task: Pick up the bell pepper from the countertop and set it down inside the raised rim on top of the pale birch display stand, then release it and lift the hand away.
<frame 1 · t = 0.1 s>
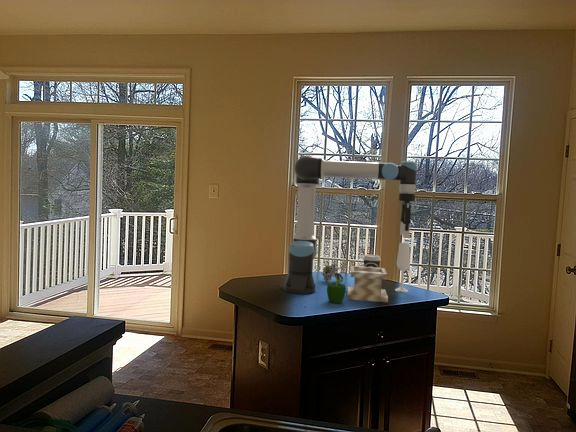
hand: (404, 236, 226), 28 cm above the countertop, tool pointing down, fingers open, 13 cm apart
bell pepper: (335, 302, 202), on the countertop
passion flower: (332, 282, 246), on the countertop
display stand: (366, 296, 216), on the countertop
champagne flute: (401, 290, 232), on the countertop
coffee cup: (370, 283, 246), on the countertop
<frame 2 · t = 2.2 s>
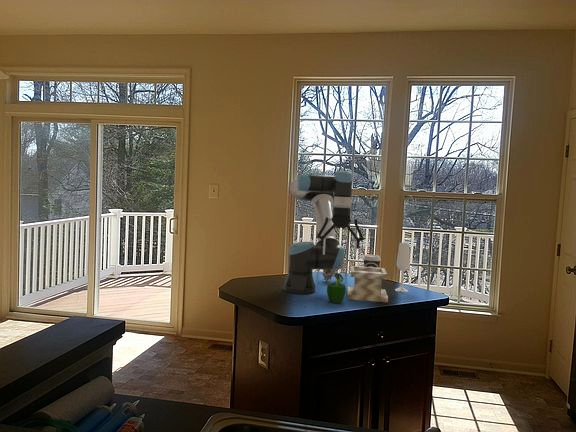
hand: (339, 255, 201), 21 cm above the countertop, tool pointing down, fingers open, 13 cm apart
nothing on the countertop moved.
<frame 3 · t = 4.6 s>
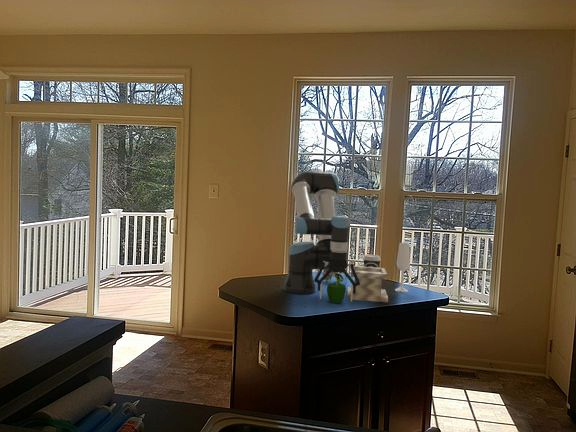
hand: (336, 299, 202), 1 cm above the countertop, tool pointing down, fingers open, 13 cm apart
nothing on the countertop moved.
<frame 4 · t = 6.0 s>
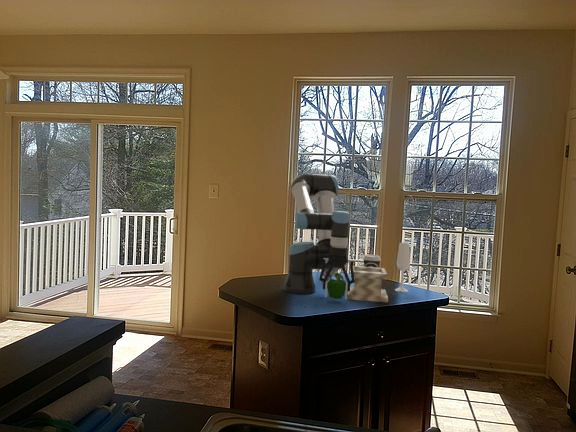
hand: (335, 297, 202), 2 cm above the countertop, tool pointing down, fingers closed on bell pepper, 8 cm apart
bell pepper: (336, 298, 203), point 1 cm above the countertop, touching gripper
everything else where it was.
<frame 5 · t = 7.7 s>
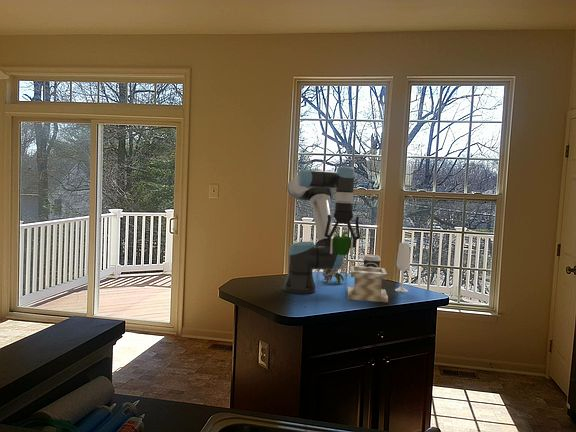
hand: (341, 253, 202), 21 cm above the countertop, tool pointing down, fingers closed on bell pepper, 8 cm apart
bell pepper: (341, 255, 202), point 21 cm above the countertop, touching gripper
everything else where it was.
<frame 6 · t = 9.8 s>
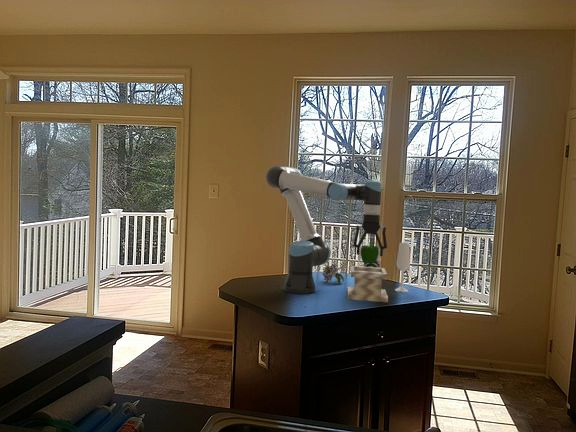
hand: (369, 262, 215), 16 cm above the countertop, tool pointing down, fingers closed on bell pepper, 8 cm apart
bell pepper: (369, 263, 215), point 16 cm above the countertop, touching gripper
everything else where it was.
when the fingers open (14 cm above the countertop, at t = 11.1 s): bell pepper drops 2 cm, resting on display stand.
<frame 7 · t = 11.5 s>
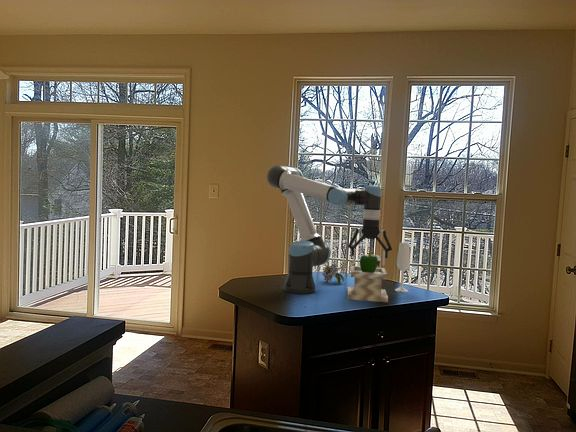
hand: (368, 264, 215), 15 cm above the countertop, tool pointing down, fingers open, 13 cm apart
bell pepper: (368, 273, 215), point 11 cm above the countertop, touching display stand
everything else where it was.
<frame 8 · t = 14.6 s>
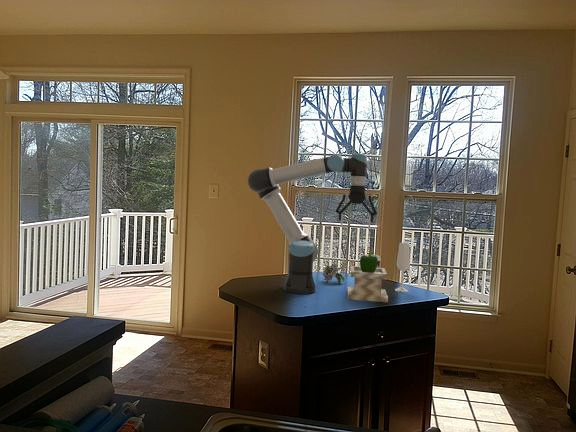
hand: (355, 228, 228), 31 cm above the countertop, tool pointing down, fingers open, 13 cm apart
nothing on the countertop moved.
at the end: bell pepper inside the target area on the display stand (0.1 cm from its centre), point 10.8 cm above the display stand's base; the gripper is holding nothing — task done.
